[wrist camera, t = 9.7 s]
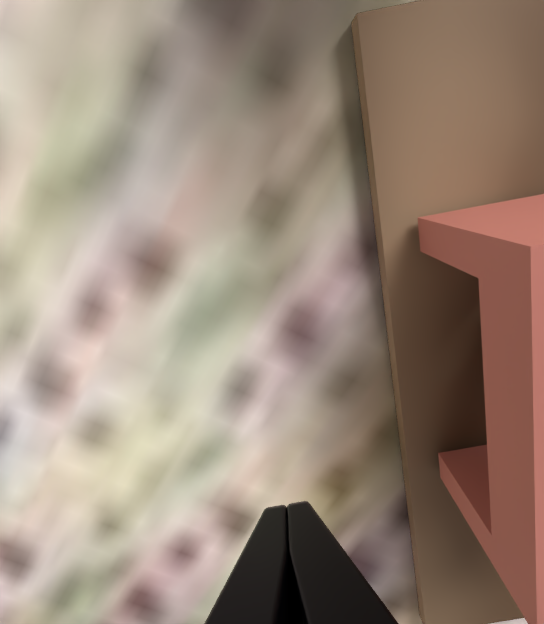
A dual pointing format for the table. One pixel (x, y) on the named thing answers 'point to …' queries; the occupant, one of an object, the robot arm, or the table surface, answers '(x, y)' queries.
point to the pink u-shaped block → (503, 387)
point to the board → (430, 271)
